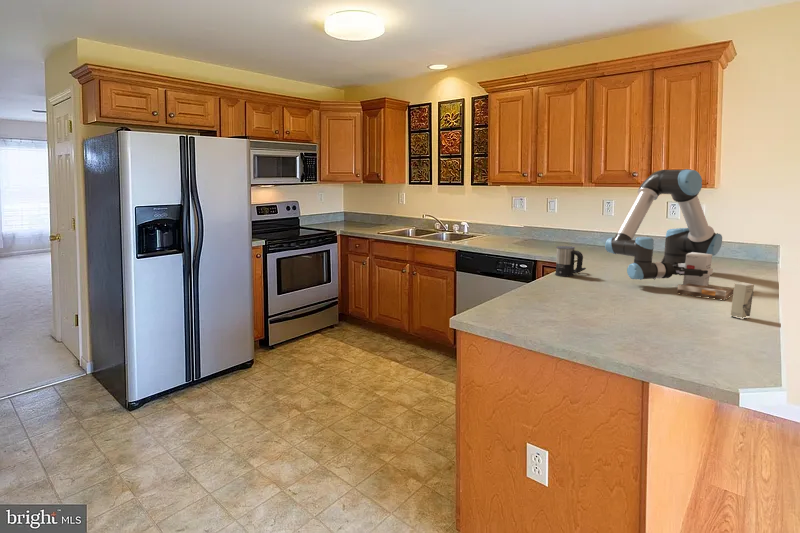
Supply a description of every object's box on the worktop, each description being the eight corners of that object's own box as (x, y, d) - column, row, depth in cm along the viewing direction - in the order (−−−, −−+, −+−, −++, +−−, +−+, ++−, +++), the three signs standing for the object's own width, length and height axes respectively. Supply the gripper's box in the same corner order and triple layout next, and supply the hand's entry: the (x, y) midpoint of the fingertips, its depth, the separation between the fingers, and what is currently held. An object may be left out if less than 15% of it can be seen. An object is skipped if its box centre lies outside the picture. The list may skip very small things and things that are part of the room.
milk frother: (553, 275, 260) (554, 247, 257) (559, 270, 273) (560, 243, 270) (581, 278, 253) (583, 249, 250) (586, 273, 267) (588, 245, 264)
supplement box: (682, 284, 238) (685, 253, 235) (688, 282, 244) (691, 251, 242) (703, 288, 232) (707, 256, 229) (709, 285, 238) (712, 253, 235)
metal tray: (676, 293, 221) (677, 284, 220) (687, 287, 232) (688, 279, 232) (724, 301, 209) (725, 291, 208) (733, 294, 220) (734, 285, 219)
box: (742, 320, 182) (746, 285, 180) (729, 317, 186) (733, 283, 183) (750, 318, 184) (754, 284, 182) (737, 315, 188) (742, 281, 186)
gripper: (642, 272, 246) (680, 271, 249) (679, 284, 222) (720, 281, 225) (643, 257, 244) (682, 256, 248) (681, 267, 220) (722, 265, 224)
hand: (700, 268), depth 237 cm, fingers open, 13 cm apart
